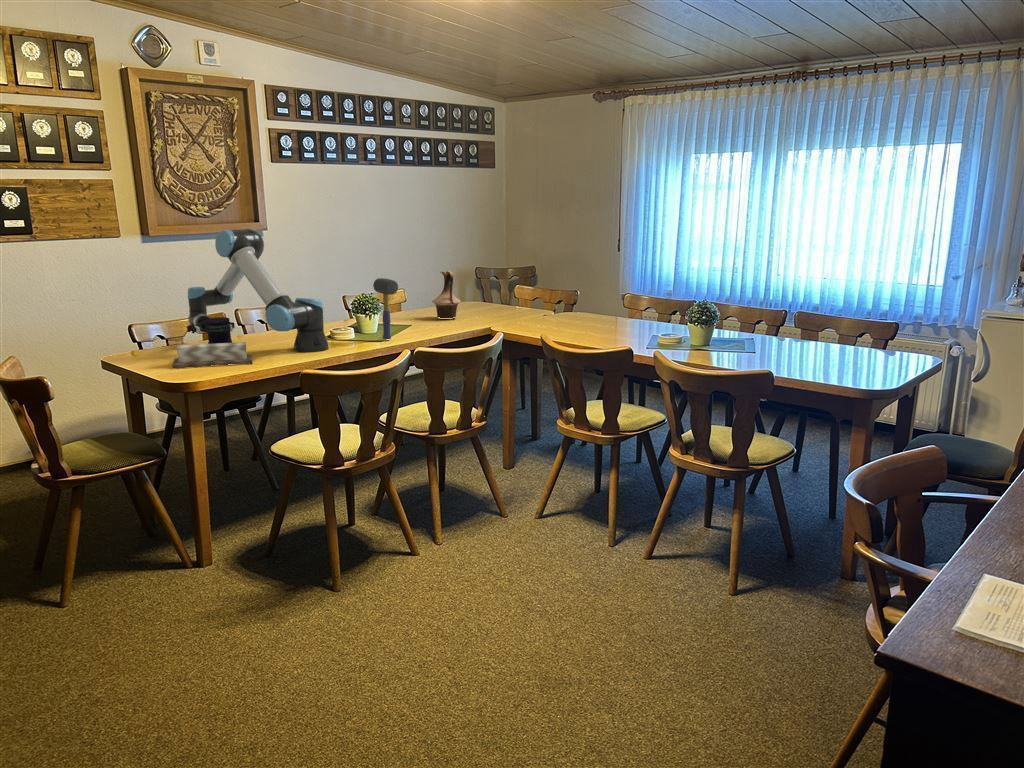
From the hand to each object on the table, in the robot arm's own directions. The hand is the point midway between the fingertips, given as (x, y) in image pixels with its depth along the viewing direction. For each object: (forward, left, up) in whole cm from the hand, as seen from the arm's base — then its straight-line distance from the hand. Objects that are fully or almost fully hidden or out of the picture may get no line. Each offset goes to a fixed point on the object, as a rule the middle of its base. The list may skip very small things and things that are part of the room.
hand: (215, 329), depth 320 cm
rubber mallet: (-63, -44, -10) cm, 78 cm away
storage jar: (-4, +4, -10) cm, 11 cm away
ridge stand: (-11, +22, -10) cm, 26 cm away
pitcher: (-74, -118, -10) cm, 140 cm away
